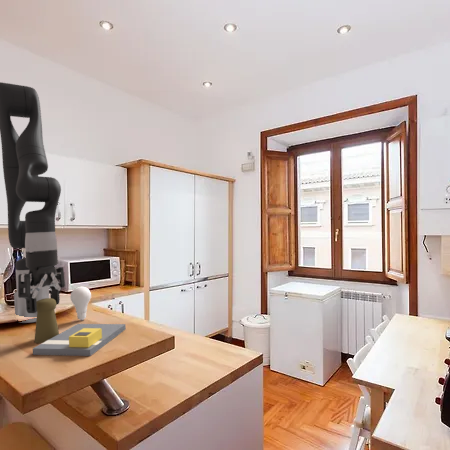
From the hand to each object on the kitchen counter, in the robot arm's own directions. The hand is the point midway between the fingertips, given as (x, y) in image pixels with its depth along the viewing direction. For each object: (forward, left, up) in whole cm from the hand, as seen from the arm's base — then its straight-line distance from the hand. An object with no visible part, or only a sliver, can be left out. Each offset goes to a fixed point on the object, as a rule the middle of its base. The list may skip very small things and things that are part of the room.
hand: (44, 308), depth 85 cm
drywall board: (+11, 0, -9) cm, 14 cm away
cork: (0, +1, -9) cm, 9 cm away
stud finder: (+15, -5, -7) cm, 18 cm away
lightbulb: (0, +17, -9) cm, 19 cm away
